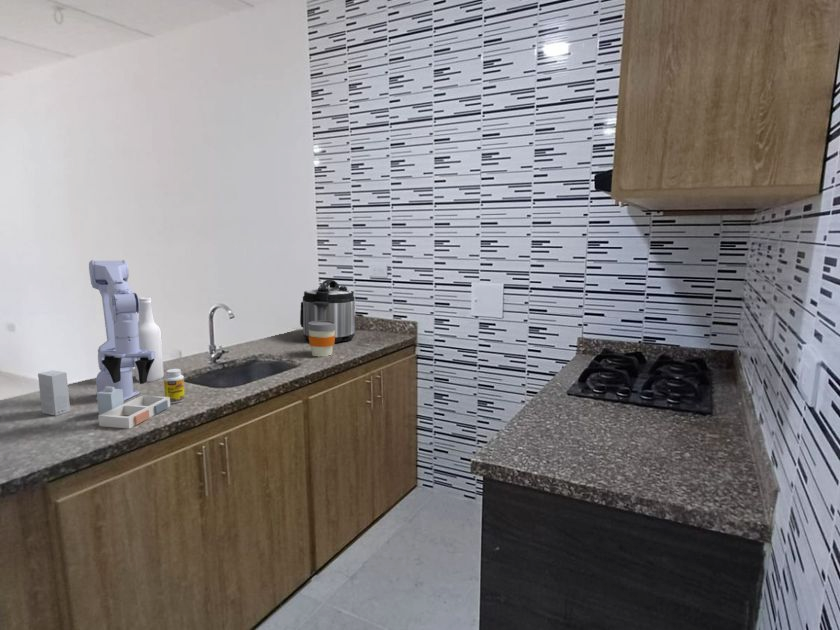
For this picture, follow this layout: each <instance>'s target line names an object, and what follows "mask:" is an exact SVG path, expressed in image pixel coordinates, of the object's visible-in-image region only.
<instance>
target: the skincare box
mask: <svg viewBox="0 0 840 630" xmlns="http://www.w3.org/2000/svg"><path fill="white" fill-rule="evenodd" d="M67 375H68V374H67V372H65V371H61V370H60V371H58V370H49V371H43V372H40V373H38V374H37V377H38V387H39V397H40V398H39V399H40V407H41V413H42V414H45V413H46V415H50V416H54V415H55V417H56V416H61V415H63V414H66V413H69V412H71V406H70V405H71V404H70V396H69V395H70V394H69V386H68V376H67Z"/></svg>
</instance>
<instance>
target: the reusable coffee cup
mask: <svg viewBox="0 0 840 630" xmlns="http://www.w3.org/2000/svg"><path fill="white" fill-rule="evenodd" d="M335 329H336V324H335V322H333V321H312V322H309V323H308V330H309V335H308V336H309V341H308V342H309V346H310V349H311V356H312V355H313V356H312V357H314V356H328V355H331V354H332V355H333V348H334V345H335V343H336V342H335ZM332 355H331V356H332Z"/></svg>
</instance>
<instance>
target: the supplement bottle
mask: <svg viewBox="0 0 840 630" xmlns="http://www.w3.org/2000/svg"><path fill="white" fill-rule="evenodd" d="M163 384H164V385H163V387H164V397H170V405H174V404H179V403H182V402H184V401H185V399H186V397H185V396H186V395H185V394H186V393H185V376H184V375H183V374H182V371H181V369H180V368H171V369H170V368H169V369H166V374H165V376H164V378H163Z"/></svg>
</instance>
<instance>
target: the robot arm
mask: <svg viewBox="0 0 840 630" xmlns="http://www.w3.org/2000/svg"><path fill="white" fill-rule="evenodd" d="M88 272H89V278H90V285H91V287H92V288H93V289H95V290H98V291H99V293H100V295H101V301H102V310H103V317H104V325H105V326H104V327H105V333H106V334H105V336H106V341H104V343H102V344H101V345H99V346H98V348H97V363H98V368H99V372H98V374H97V375H96V379H95V383H96V394H97V393H98V392H101V391H103V390H105V387H107V386H108V387H115V389H123V401H126V400H129V399H131V398H134V397H135V396H137V395H140V394H141V392H140V391H134V381H133V370H134V368H135V366H137V369H138V373H139V381H138V382H139V384H140V385H143V384H146V383H148V382H147V377H148V373H149V370H150V367H151V365H152V363H153V361H154V358H156V355H155V351H147V350H140V348H139V333H138V321H139V318H138V314H139V296H138V293H137V292H133V291H132V289H131V286H130V284H129V282H128V279H129V274H130V271H129V264H128V262H127V261H126V260H124V259H123V260H93V259H92V260H90V261H89V262H88ZM137 358H140V360H138V361H137ZM95 400H97V396H96V397H95Z"/></svg>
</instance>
